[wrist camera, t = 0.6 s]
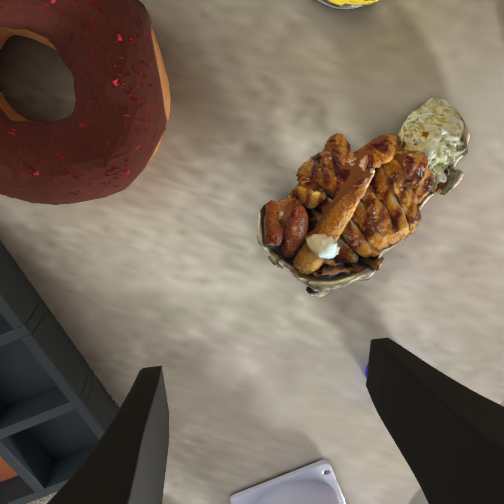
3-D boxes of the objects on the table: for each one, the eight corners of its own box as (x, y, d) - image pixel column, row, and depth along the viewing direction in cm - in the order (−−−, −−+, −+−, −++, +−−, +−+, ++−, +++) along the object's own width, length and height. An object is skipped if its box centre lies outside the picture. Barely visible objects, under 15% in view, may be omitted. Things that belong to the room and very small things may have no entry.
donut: (-119, 105, 16) (-204, 112, 13) (-17, -128, 14) (-87, -199, 11) (103, 231, 20) (85, 264, 16) (213, 61, 18) (220, 56, 14)
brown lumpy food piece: (479, 158, 22) (531, 171, 18) (316, 299, 24) (337, 334, 20) (414, 53, 19) (461, 48, 16) (236, 224, 21) (246, 250, 18)
